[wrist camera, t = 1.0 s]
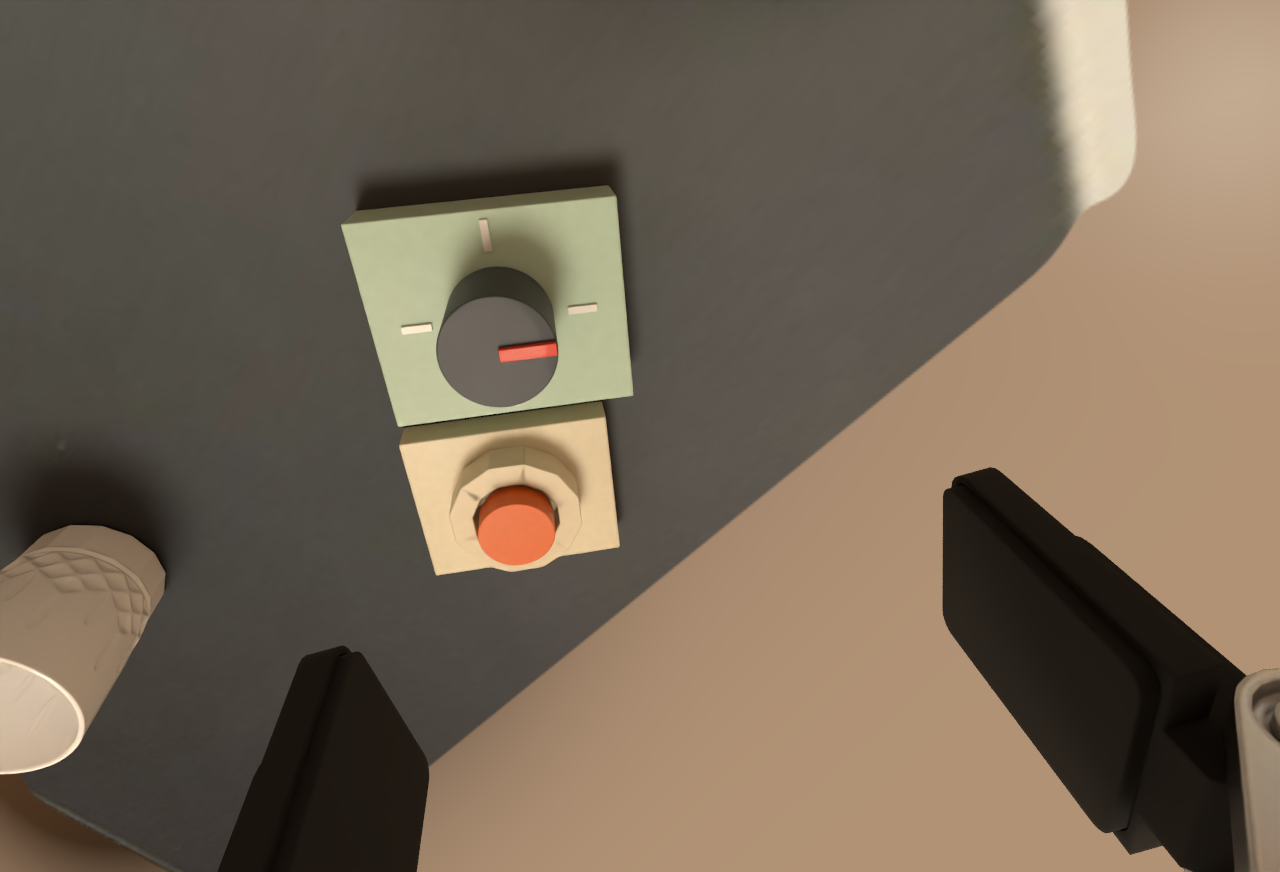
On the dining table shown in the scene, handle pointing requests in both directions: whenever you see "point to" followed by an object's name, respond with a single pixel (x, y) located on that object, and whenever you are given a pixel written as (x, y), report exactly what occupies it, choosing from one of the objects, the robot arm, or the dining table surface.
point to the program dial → (498, 338)
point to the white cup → (68, 636)
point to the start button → (516, 525)
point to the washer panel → (490, 237)
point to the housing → (512, 480)
